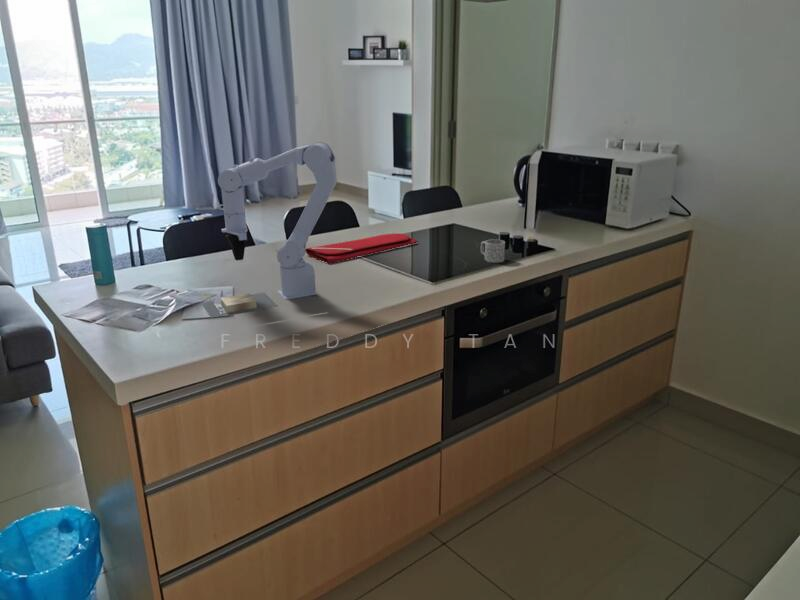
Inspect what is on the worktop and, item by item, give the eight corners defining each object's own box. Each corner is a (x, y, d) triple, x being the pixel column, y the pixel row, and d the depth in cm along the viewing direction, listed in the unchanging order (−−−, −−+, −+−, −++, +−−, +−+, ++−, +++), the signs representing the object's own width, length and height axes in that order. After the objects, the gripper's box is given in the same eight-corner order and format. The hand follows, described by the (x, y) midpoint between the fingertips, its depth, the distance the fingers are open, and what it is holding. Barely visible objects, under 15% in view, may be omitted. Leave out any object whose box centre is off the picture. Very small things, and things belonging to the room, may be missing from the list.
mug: (508, 260, 206) (509, 242, 204) (494, 264, 203) (495, 245, 200) (487, 254, 214) (488, 236, 212) (473, 257, 210) (474, 239, 208)
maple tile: (249, 293, 168) (256, 300, 162) (249, 300, 169) (256, 307, 163) (220, 298, 164) (226, 305, 159) (221, 305, 165) (227, 312, 159)
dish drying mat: (418, 245, 228) (418, 236, 227) (329, 266, 203) (329, 255, 202) (392, 238, 240) (392, 229, 238) (304, 256, 215) (304, 246, 213)
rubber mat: (264, 293, 175) (264, 292, 175) (278, 307, 164) (277, 305, 164) (201, 304, 167) (201, 302, 167) (211, 319, 156) (211, 317, 156)
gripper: (214, 209, 171) (219, 255, 176) (226, 218, 159) (231, 267, 164) (238, 207, 174) (243, 252, 179) (252, 216, 162) (256, 264, 167)
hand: (239, 259), depth 172 cm, fingers closed
